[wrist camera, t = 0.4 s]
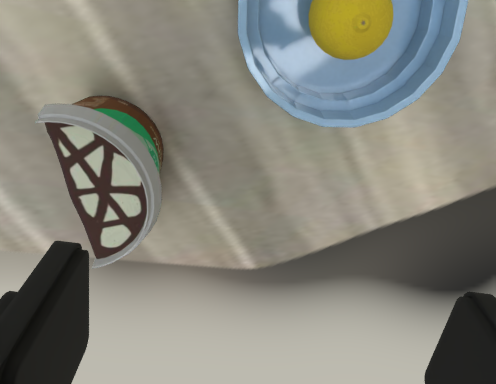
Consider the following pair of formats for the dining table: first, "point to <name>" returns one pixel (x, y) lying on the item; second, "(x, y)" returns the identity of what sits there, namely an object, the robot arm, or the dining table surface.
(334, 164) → the dining table surface
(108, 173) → the food container
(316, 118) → the bowl
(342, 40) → the lemon
